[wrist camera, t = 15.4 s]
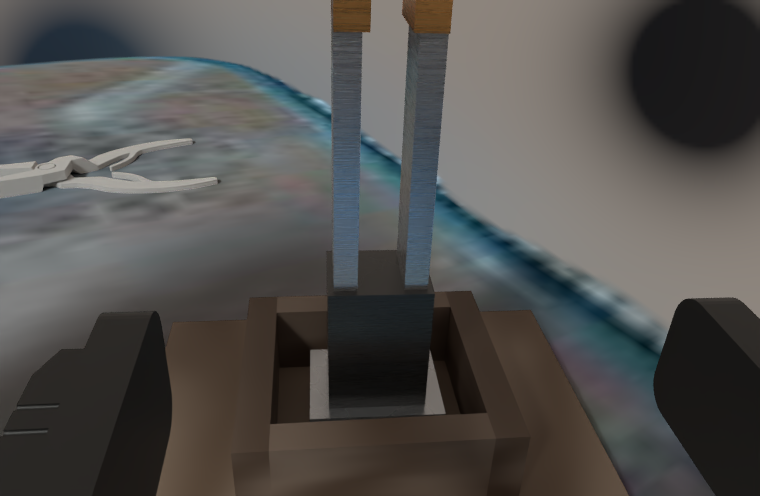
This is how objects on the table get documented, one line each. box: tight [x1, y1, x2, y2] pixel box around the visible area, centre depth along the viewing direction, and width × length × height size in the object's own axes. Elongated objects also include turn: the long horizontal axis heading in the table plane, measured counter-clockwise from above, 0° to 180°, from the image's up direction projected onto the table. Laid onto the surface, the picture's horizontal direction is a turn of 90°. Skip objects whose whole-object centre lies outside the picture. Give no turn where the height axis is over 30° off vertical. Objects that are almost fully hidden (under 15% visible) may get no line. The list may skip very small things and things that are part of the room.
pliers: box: [0, 138, 218, 198], centre depth 49 cm, size 10×2×15 cm
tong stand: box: [156, 291, 629, 496], centre depth 26 cm, size 18×14×4 cm
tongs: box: [310, 0, 453, 422], centre depth 22 cm, size 5×4×18 cm
